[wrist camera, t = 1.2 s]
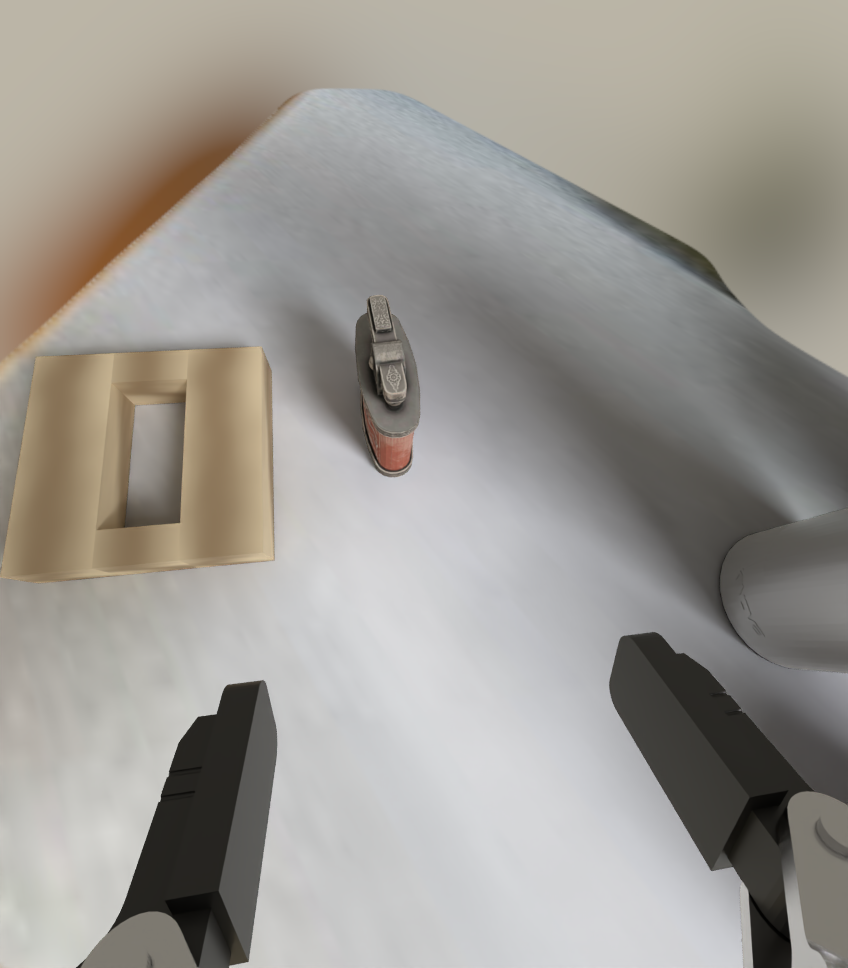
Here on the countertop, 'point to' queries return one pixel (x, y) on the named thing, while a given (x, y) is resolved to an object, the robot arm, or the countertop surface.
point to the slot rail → (106, 463)
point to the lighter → (387, 388)
